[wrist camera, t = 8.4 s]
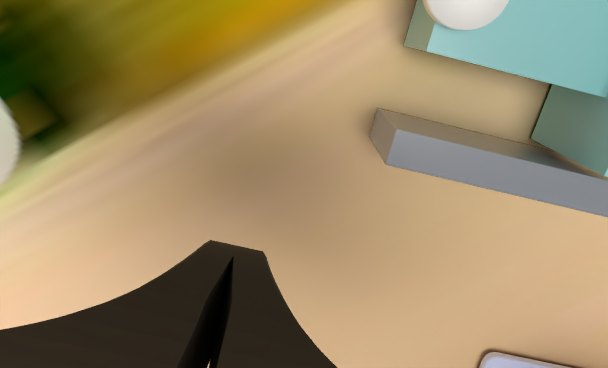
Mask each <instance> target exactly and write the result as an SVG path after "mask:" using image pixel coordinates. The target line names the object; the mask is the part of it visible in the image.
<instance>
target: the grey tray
mask: <svg viewBox="0 0 608 368" xmlns="http://www.w3.org/2000/svg"><path fill="white" fill-rule="evenodd" d="M369 137H370V139H371V141H372V142H373V144H374V146H375V147H376V149H377V151H378V152H379V154H380V156H381V157H382V159H383V161H384V162H385V164H386V165H390V166H394V167H398V168H402V169H407V170H411V171H415V172H419V173H423V174H428V175H432V176H436V177H440V178H445V179H449V180H453V181H457V182H461V183H466V184H470V185H474V186H478V187H482V188H487V189H491V190H495V191H499V192H504V193H508V194H512V195H516V196H520V197H525V198H529V199H533V200H537V201H542V202H546V203H550V204H554V205H558V206H563V207H567V208H571V209H575V210H579V211H584V212H588V213H592V214H596V215H601V216H605V217H608V177H606V176H603V175H601V174H599V173H597V172H595V171H593V170H591V169H589V168H587V167H585V166H584V165H582V164H580V163H578V162H576V161H574V160H572V159H570V158H568V157H566V156H564V155H562V154H560V153H558V152H554V151H550V150H546V149H542V148H538V147H534V146H530V145H526V144H522V143H518V142H514V141H510V140H506V139H502V138H497V137H493V136H489V135H485V134H481V133H477V132H473V131H469V130H465V129H461V128H457V127H453V126H449V125H445V124H441V123H437V122H433V121H429V120H425V119H421V118H416V117H412V116H408V115H404V114H400V113H396V112H392V111H388V110H384V109H380V108H378V109H377V112H376V116H375V119H374V122H373V126H372V129H371V133H370V136H369Z"/></svg>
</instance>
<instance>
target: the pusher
mask: <svg viewBox="0 0 608 368" xmlns="http://www.w3.org/2000/svg"><path fill="white" fill-rule="evenodd" d="M404 46H407V47H411V48H414V49H418V50H422V51H426V52H430V53H434V54H438V55H441V56H445V57H449V58H453V59H457V60H461V61H465V62H468V63H472V64H476V65H480V66H484V67H488V68H492V69H496V70H499V71H503V72H507V73H511V74H515V75H519V76H523V77H526V78H530V79H534V80H538V81H542V82H546V83H550V84H552V86H551V89H550V91H549V94H548V96H547V99H546V101H545V104H544V106H543V109H542V111H541V114H540V117H539V119H538V122H537V124H536V127H535V129H534V132H533V134H532V137H531V139H533V140H535V141H537V142H539V143H540V144H542V145H544V146H546V147H548V148H550V149H552V150H554V151H556V152H558V153H560V154H562V155H564V156H566V157H568V158H570V159H572V160H574V161H576V162H578V163H580V164H582V165H584V166H585V167H587V168H589V169H591V170H593V171H595V172H597V173H599V174H601V175H603V176H606V177H608V0H417V2H416V5H415V9H414V12H413V16H412V19H411V22H410V26H409V29H408V32H407V36H406V39H405V42H404Z"/></svg>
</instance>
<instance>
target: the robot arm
mask: <svg viewBox="0 0 608 368" xmlns="http://www.w3.org/2000/svg"><path fill="white" fill-rule="evenodd" d="M209 361H210V365H209V368H337V367H336V366H335V365H334V364H333V363H332V362H331V361H330V360H329V359H328V358H327V357H326V356H325V355H324V354H323V353H322V352H321V351H320V349H319V348H318V347H317V346H316V345H315V344H314V343H313V341H312V340H311V339H310V338H309V336H308V335H307V334H306V333H305V331H304V330H303V329H302V328H301V326H300V325H299V324H298V322H297V320H296V319H295V317H294V316H293V314H292V312H291V311H290V309H289V307H288V306H287V304H286V302H285V300H284V298H283V296H282V294H281V292H280V290H279V288H278V286H277V284H276V282H275V280H274V277H273V275H272V273H271V270H270V267H269V265H268V261H267V258H266V256H265V254H264V252H263V251H258V250H254V249H249V248H245V247H240V246H235V245H231V244H226V243H221V242H217V241H212V240H210V241H208V242H206V243H205V244H203V245H202V246H201V247H200V248H198V249H197V250H196V251H195V252H193V253H192V254H191V255H189V256H188V257H187V258H185V259H184V260H183V261H181V262H180V263H178V264H177V265H175V266H174V267H173V268H171V269H170V270H168V271H167V272H165V273H164V274H162V275H160V276H159V277H157V278H155V279H153V280H152V281H150V282H148V283H146V284H145V285H143V286H141V287H139V288H137V289H135V290H133V291H131V292H129V293H127V294H124V295H122V296H120V297H117V298H115V299H113V300H110V301H108V302H105V303H103V304H100V305H96V306H93V307H90V308H87V309H84V310H81V311H78V312H75V313H72V314H69V315H66V316H62V317H58V318H54V319H50V320H46V321H42V322H38V323H33V324H29V325H24V326H19V327H14V328H9V329H3V330H0V368H207V367H208V364H209ZM479 368H570V367H566V366H561V365H556V364H551V363H546V362H542V361H537V360H532V359H527V358H522V357H518V356H513V355H508V354H503V353H498V352H491V353H488V354H487V355H485V357H484V358H483V360H482V362H481V364H480V367H479Z"/></svg>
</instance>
